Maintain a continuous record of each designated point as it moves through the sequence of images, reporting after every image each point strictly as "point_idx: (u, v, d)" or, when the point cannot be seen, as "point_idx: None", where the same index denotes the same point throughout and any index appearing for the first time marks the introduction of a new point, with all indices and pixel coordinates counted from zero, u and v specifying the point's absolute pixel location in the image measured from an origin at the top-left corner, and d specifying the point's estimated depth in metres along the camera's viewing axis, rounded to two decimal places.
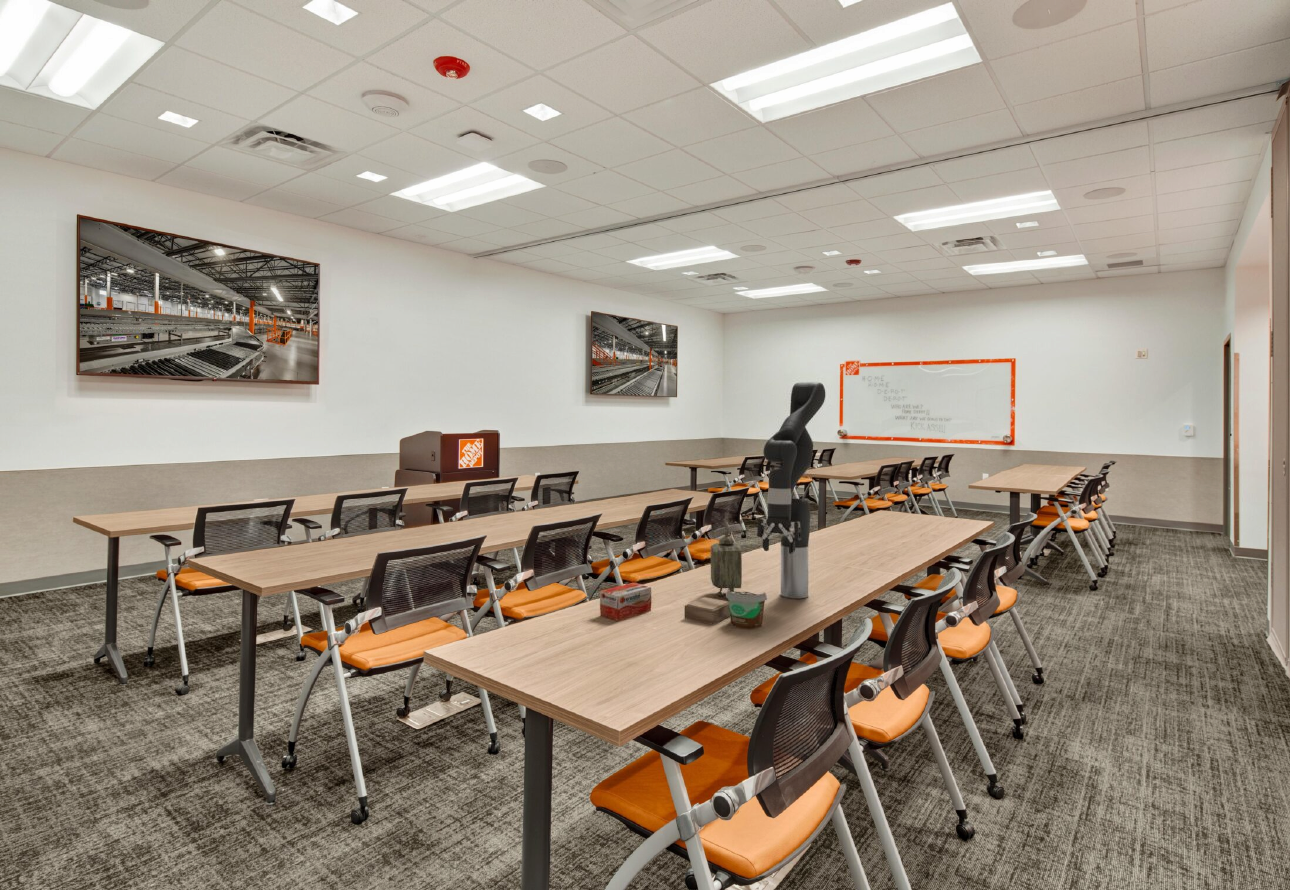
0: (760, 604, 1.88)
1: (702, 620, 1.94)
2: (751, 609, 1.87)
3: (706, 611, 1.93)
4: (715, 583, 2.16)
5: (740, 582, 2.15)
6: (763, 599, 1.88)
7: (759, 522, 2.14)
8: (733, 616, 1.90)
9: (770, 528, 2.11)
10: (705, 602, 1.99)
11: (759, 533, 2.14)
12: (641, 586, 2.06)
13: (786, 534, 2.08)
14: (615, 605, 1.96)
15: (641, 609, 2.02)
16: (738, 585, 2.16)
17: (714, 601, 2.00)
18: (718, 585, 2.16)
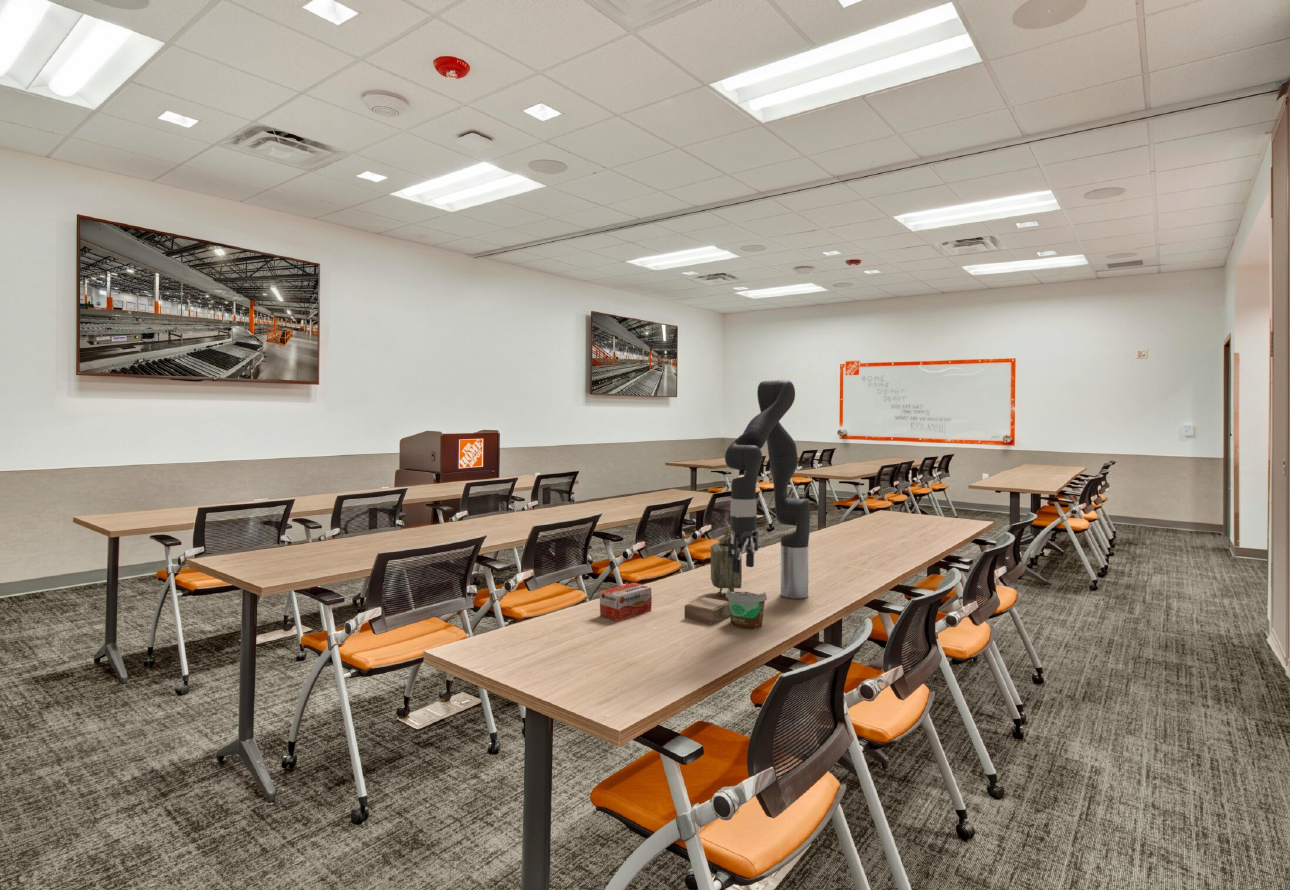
0: (760, 604, 1.88)
1: (702, 620, 1.94)
2: (750, 609, 1.87)
3: (706, 611, 1.93)
4: (715, 583, 2.16)
5: (740, 582, 2.15)
6: (763, 599, 1.88)
7: (736, 541, 1.83)
8: (733, 616, 1.90)
9: (745, 545, 1.86)
10: (705, 602, 1.99)
11: (736, 554, 1.83)
12: (641, 586, 2.05)
13: (753, 547, 1.91)
14: (615, 605, 1.95)
15: (641, 609, 2.02)
16: (738, 585, 2.16)
17: (714, 601, 2.00)
18: (718, 585, 2.16)
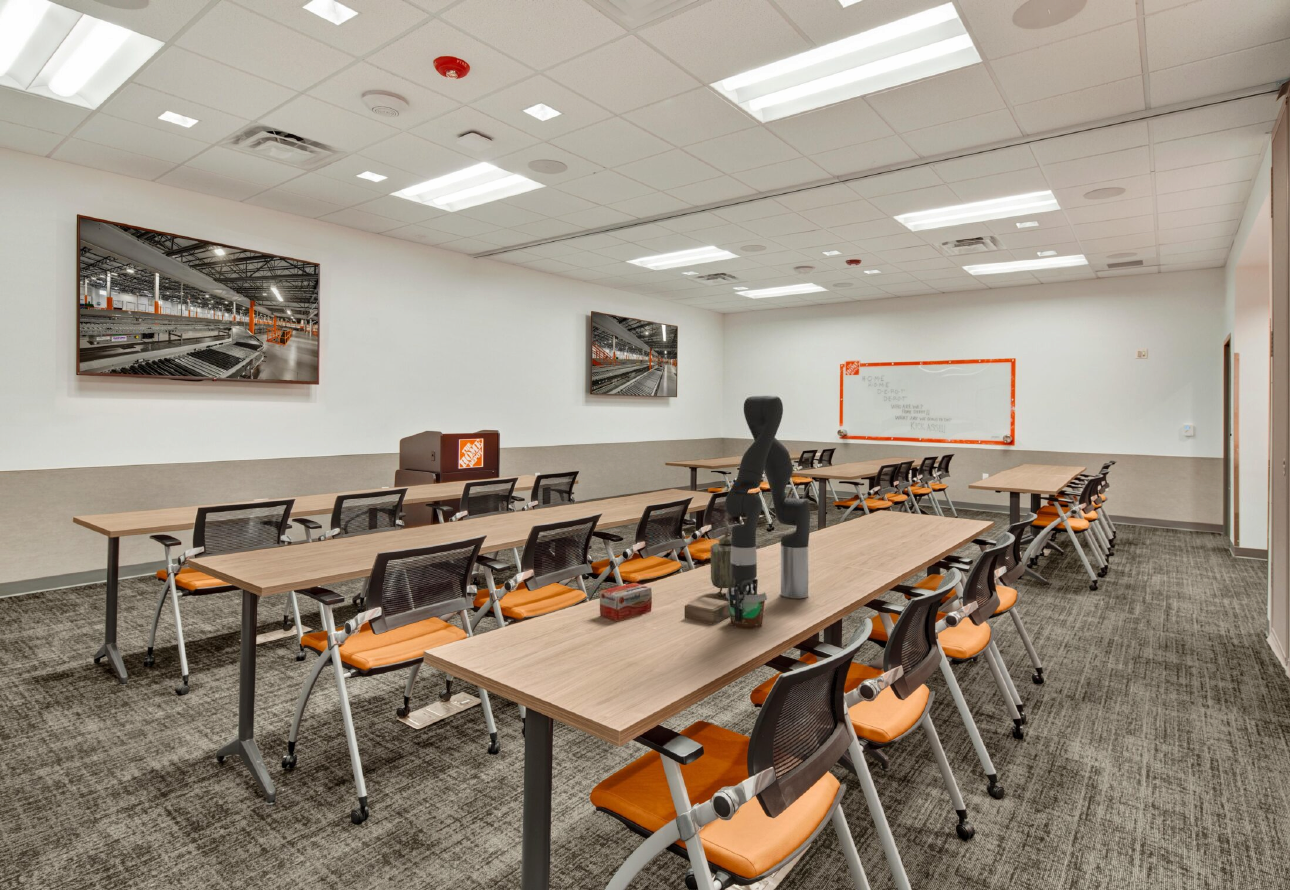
0: (760, 604, 1.88)
1: (702, 620, 1.94)
2: (750, 609, 1.87)
3: (706, 611, 1.93)
4: (715, 583, 2.16)
5: None
6: (763, 599, 1.88)
7: (737, 592, 1.84)
8: (733, 616, 1.90)
9: (745, 593, 1.87)
10: (705, 602, 1.99)
11: (738, 604, 1.84)
12: (641, 586, 2.05)
13: None
14: (614, 605, 1.95)
15: (641, 609, 2.02)
16: None
17: (714, 601, 2.00)
18: (718, 585, 2.16)
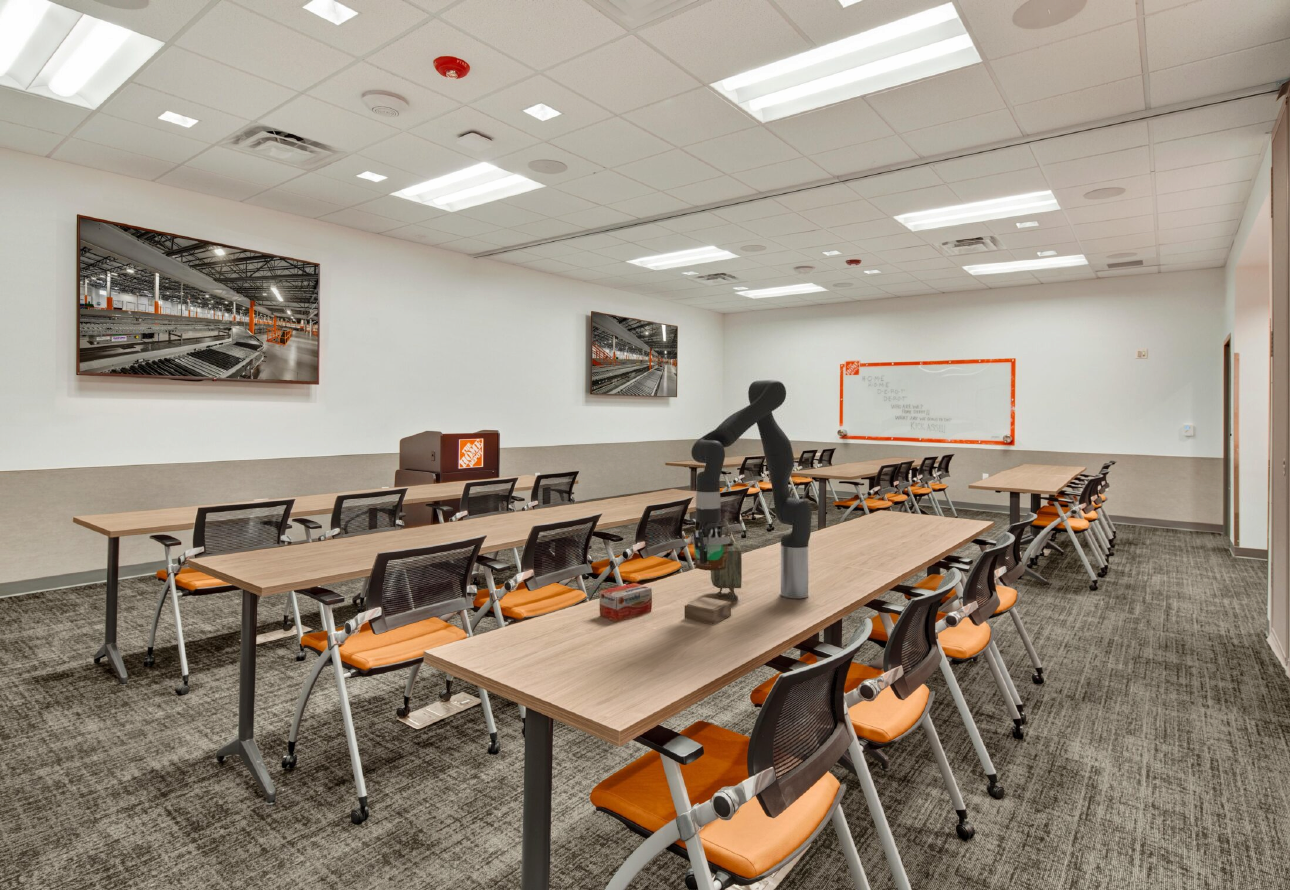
0: (723, 547, 1.96)
1: (702, 620, 1.94)
2: (714, 551, 1.95)
3: (706, 611, 1.93)
4: (715, 583, 2.16)
5: (740, 582, 2.15)
6: (726, 542, 1.96)
7: (701, 535, 1.92)
8: (698, 559, 1.98)
9: (710, 536, 1.95)
10: (705, 602, 1.99)
11: (703, 546, 1.93)
12: (641, 587, 2.05)
13: None
14: (614, 606, 1.95)
15: (641, 610, 2.01)
16: (738, 585, 2.16)
17: (714, 601, 2.00)
18: (718, 585, 2.16)
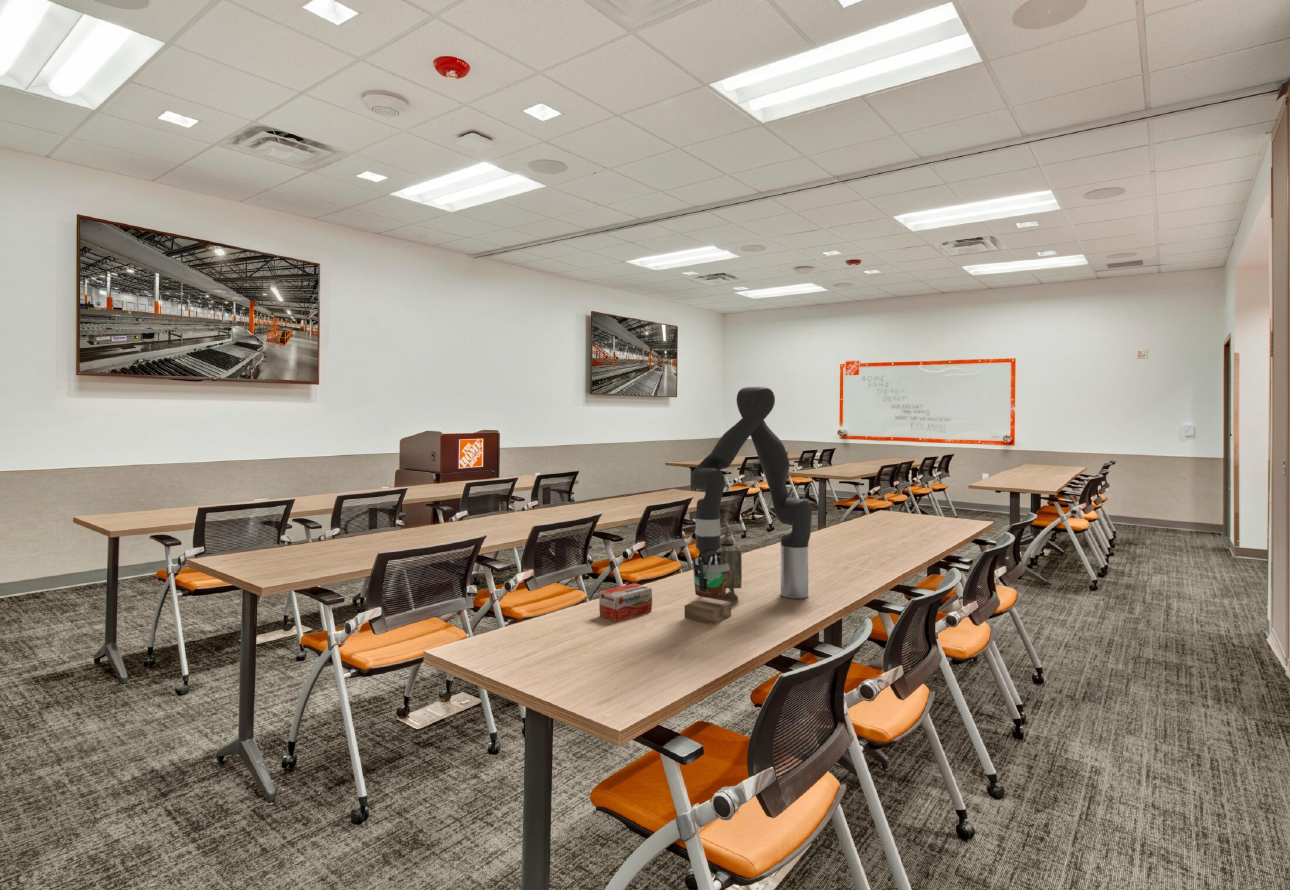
0: (723, 574, 1.96)
1: (702, 620, 1.94)
2: (713, 578, 1.95)
3: (706, 611, 1.93)
4: None
5: (740, 582, 2.15)
6: (726, 569, 1.96)
7: (701, 562, 1.93)
8: (697, 586, 1.98)
9: (709, 563, 1.96)
10: (705, 602, 1.99)
11: (702, 573, 1.93)
12: (641, 587, 2.05)
13: None
14: (613, 606, 1.95)
15: (641, 610, 2.01)
16: (738, 585, 2.16)
17: (714, 601, 2.00)
18: None
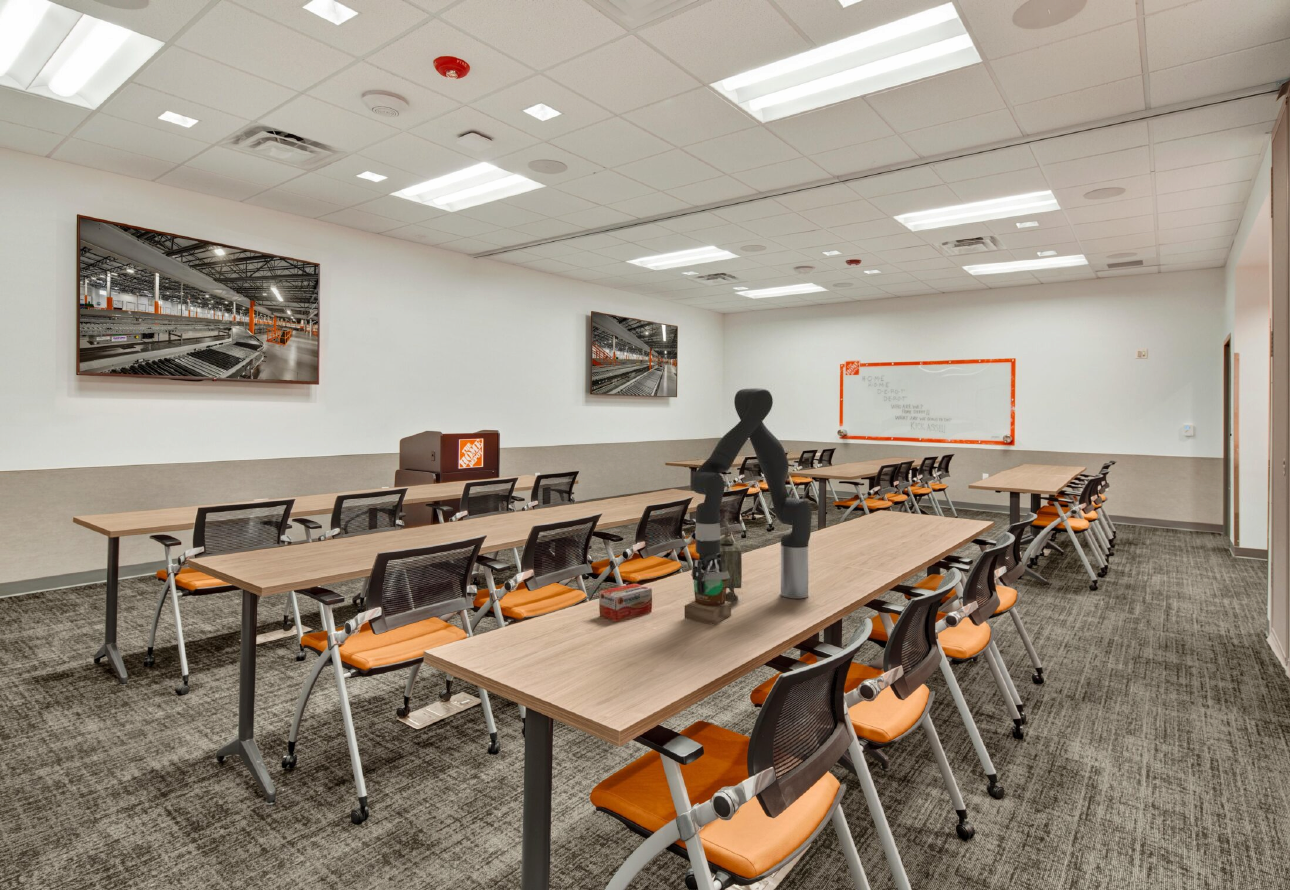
0: (722, 582, 1.96)
1: (702, 620, 1.94)
2: (713, 586, 1.95)
3: (706, 611, 1.93)
4: None
5: (740, 582, 2.15)
6: (725, 577, 1.96)
7: (700, 564, 1.92)
8: (697, 594, 1.98)
9: (709, 567, 1.95)
10: None
11: (700, 576, 1.93)
12: (642, 587, 2.04)
13: (718, 568, 2.00)
14: (613, 606, 1.95)
15: (641, 610, 2.01)
16: (738, 585, 2.16)
17: None
18: None
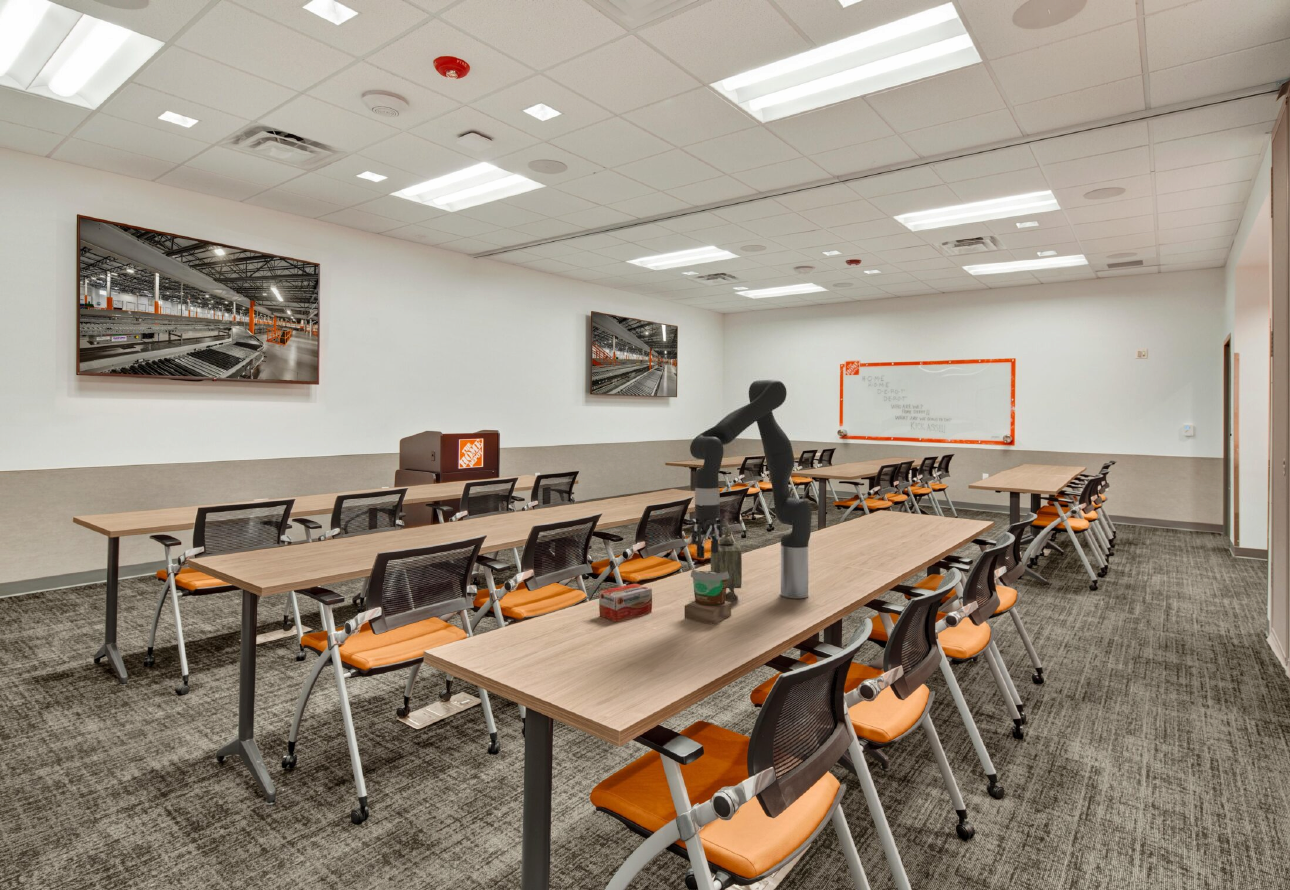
0: (722, 582, 1.96)
1: (702, 620, 1.94)
2: (713, 587, 1.95)
3: (706, 611, 1.93)
4: None
5: (740, 582, 2.15)
6: (725, 578, 1.95)
7: (700, 528, 1.92)
8: (697, 594, 1.98)
9: (708, 532, 1.95)
10: None
11: (700, 541, 1.92)
12: (642, 587, 2.04)
13: (717, 533, 2.00)
14: (613, 606, 1.95)
15: (641, 610, 2.01)
16: (738, 585, 2.16)
17: None
18: None
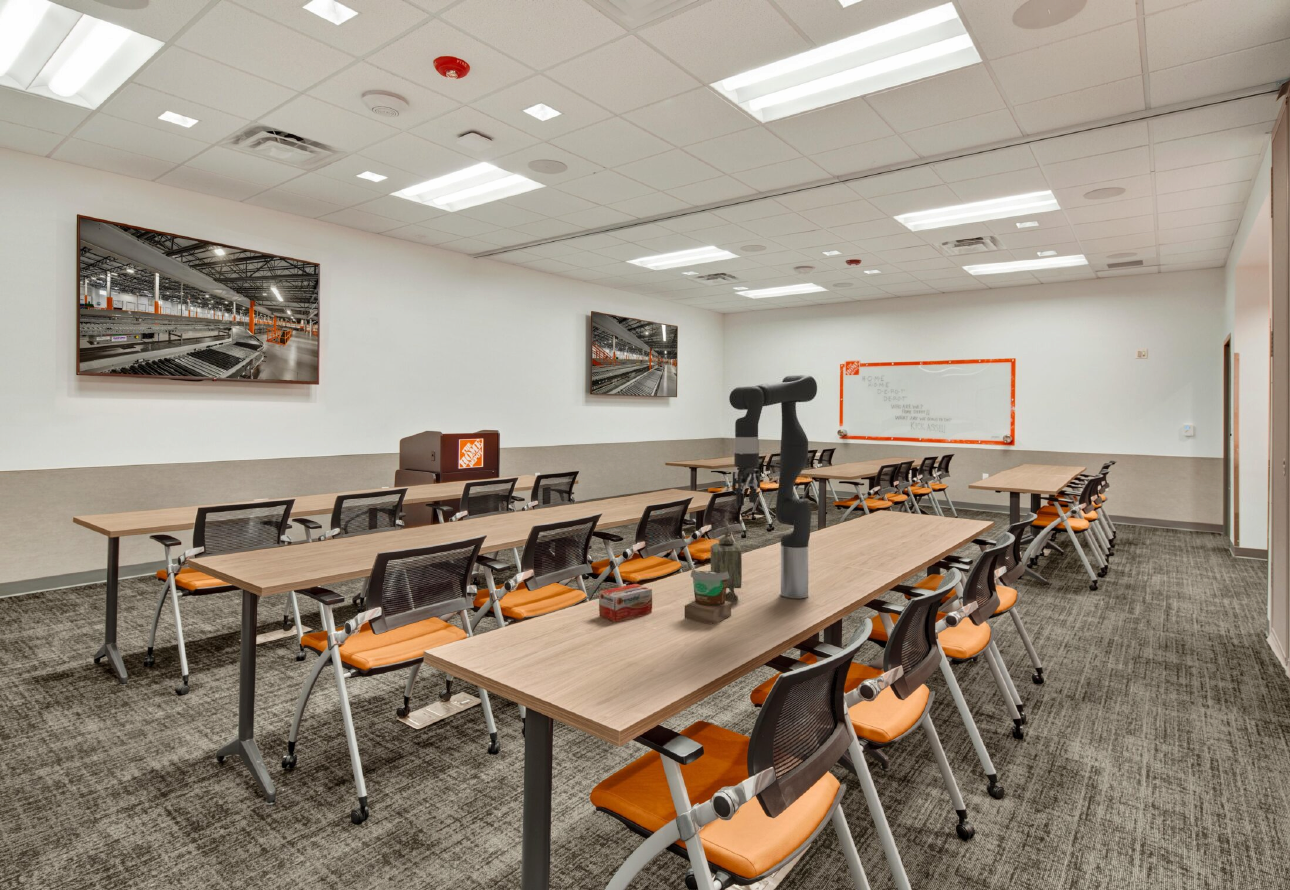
0: (722, 582, 1.96)
1: (702, 620, 1.94)
2: (713, 587, 1.95)
3: (706, 611, 1.93)
4: None
5: (740, 582, 2.15)
6: (725, 578, 1.95)
7: (740, 476, 1.95)
8: (697, 594, 1.98)
9: (748, 480, 1.98)
10: None
11: (740, 488, 1.95)
12: (642, 588, 2.04)
13: (756, 483, 2.02)
14: (612, 606, 1.94)
15: (641, 610, 2.01)
16: (738, 585, 2.16)
17: None
18: None
